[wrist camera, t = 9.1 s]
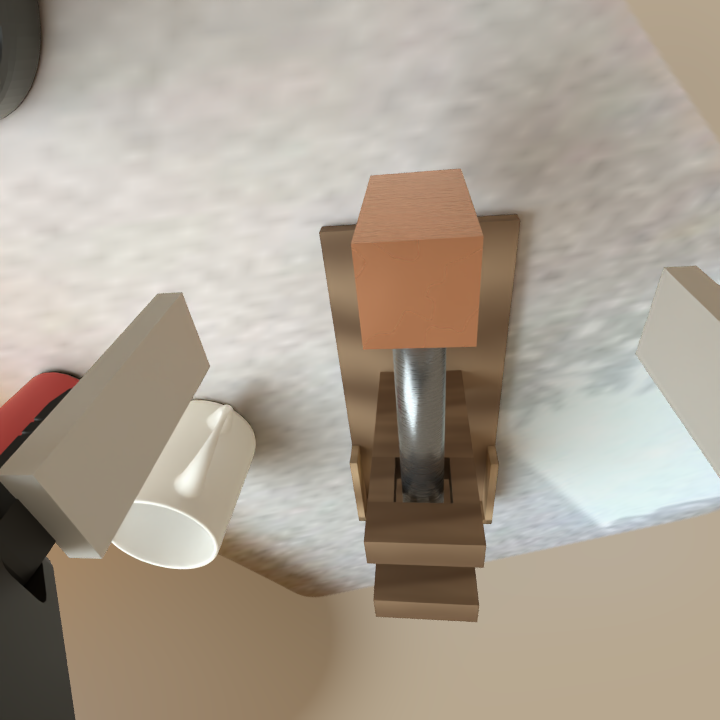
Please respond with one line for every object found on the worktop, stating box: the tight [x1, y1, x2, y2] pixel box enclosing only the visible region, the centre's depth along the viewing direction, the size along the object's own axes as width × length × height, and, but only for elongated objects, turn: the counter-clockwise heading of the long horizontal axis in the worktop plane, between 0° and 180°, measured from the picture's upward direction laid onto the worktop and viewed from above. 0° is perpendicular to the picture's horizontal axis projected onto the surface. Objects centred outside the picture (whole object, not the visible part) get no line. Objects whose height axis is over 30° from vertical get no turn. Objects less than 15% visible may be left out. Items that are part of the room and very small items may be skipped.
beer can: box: [0, 372, 80, 455], centre depth 35 cm, size 7×7×12 cm
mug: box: [112, 400, 256, 569], centre depth 36 cm, size 9×12×11 cm
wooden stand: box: [319, 214, 520, 622], centre depth 30 cm, size 27×12×15 cm, turn 6°
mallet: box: [351, 169, 484, 503], centre depth 23 cm, size 22×4×8 cm, turn 6°
